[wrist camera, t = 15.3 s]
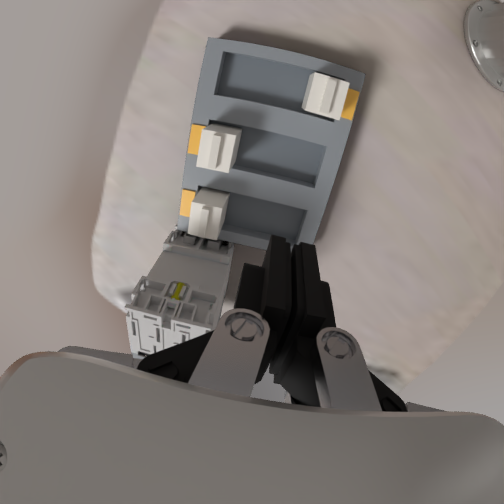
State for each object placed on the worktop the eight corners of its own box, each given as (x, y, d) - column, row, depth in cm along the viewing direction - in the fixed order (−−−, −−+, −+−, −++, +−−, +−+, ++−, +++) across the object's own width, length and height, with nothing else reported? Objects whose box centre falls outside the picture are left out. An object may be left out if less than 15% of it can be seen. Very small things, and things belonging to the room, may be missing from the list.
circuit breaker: (172, 309, 43) (138, 391, 31) (176, 224, 36) (124, 304, 23) (221, 320, 44) (200, 407, 31) (236, 237, 36) (211, 326, 23)
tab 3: (309, 74, 24) (315, 71, 20) (339, 83, 25) (351, 82, 20) (301, 107, 26) (305, 110, 22) (331, 115, 26) (340, 121, 22)
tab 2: (202, 186, 32) (190, 203, 27) (230, 192, 32) (221, 210, 27) (198, 215, 33) (186, 236, 29) (224, 221, 33) (215, 242, 29)
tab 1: (213, 123, 28) (200, 129, 24) (242, 128, 28) (235, 136, 24) (207, 155, 30) (194, 168, 25) (235, 161, 30) (227, 174, 26)
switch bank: (214, 41, 25) (207, 37, 22) (358, 74, 25) (366, 73, 23) (183, 219, 35) (176, 230, 33) (305, 247, 36) (307, 260, 33)
